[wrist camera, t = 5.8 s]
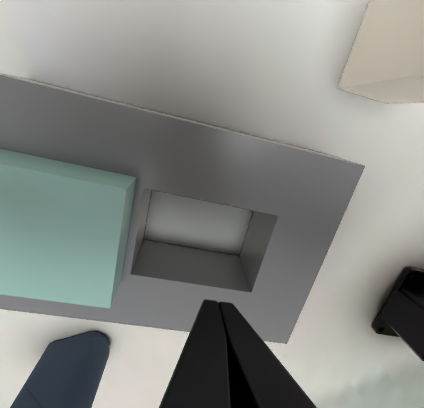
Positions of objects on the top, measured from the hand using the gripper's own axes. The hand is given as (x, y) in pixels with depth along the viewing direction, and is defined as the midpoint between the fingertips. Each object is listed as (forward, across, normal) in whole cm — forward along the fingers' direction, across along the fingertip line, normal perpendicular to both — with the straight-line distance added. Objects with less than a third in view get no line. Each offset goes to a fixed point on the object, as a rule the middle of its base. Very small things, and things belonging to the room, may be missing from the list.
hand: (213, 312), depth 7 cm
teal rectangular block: (+6, +7, +1) cm, 10 cm away
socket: (+10, +2, +1) cm, 11 cm away
